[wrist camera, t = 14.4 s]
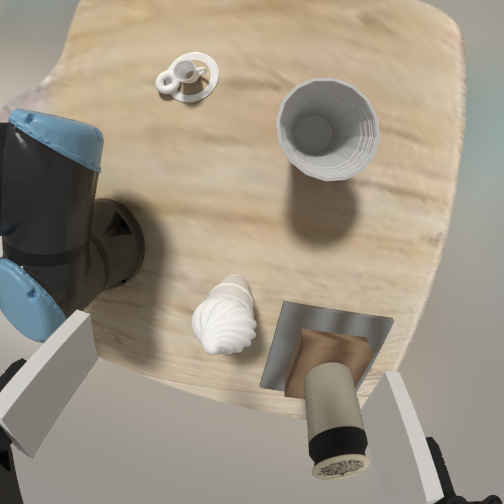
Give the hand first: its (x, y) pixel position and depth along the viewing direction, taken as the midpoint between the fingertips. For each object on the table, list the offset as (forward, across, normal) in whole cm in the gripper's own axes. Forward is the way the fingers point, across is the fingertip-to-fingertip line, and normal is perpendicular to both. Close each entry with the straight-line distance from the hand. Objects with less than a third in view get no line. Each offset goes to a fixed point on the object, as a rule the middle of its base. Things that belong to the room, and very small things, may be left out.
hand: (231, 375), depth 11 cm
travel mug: (+26, +16, -24) cm, 39 cm away
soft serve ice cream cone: (+32, -2, -13) cm, 35 cm away
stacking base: (+32, +16, -24) cm, 43 cm away
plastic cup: (+32, +5, +12) cm, 34 cm away
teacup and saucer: (+32, -16, +20) cm, 41 cm away
